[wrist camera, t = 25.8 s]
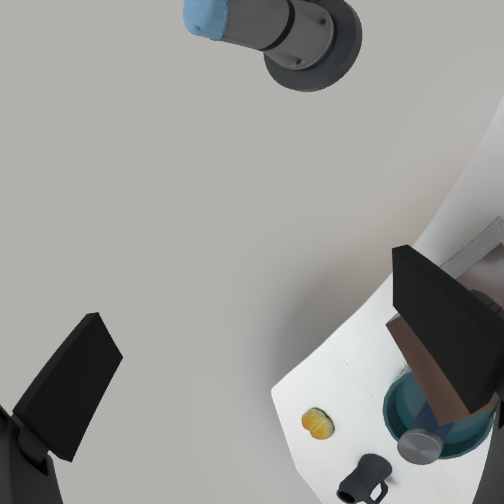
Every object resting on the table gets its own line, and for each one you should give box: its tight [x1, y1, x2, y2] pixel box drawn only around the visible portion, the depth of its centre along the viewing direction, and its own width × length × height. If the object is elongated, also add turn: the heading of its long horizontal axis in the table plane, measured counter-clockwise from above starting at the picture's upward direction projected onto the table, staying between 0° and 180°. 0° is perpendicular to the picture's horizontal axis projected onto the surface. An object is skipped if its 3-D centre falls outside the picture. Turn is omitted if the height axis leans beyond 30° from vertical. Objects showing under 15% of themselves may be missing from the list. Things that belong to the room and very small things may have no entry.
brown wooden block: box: [386, 216, 504, 426], centre depth 20 cm, size 12×12×18 cm
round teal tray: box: [383, 366, 496, 459], centre depth 30 cm, size 21×21×4 cm
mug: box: [336, 454, 392, 504], centre depth 39 cm, size 12×9×11 cm
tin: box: [397, 401, 455, 465], centre depth 28 cm, size 7×7×10 cm
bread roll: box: [302, 408, 333, 440], centre depth 55 cm, size 8×9×4 cm
